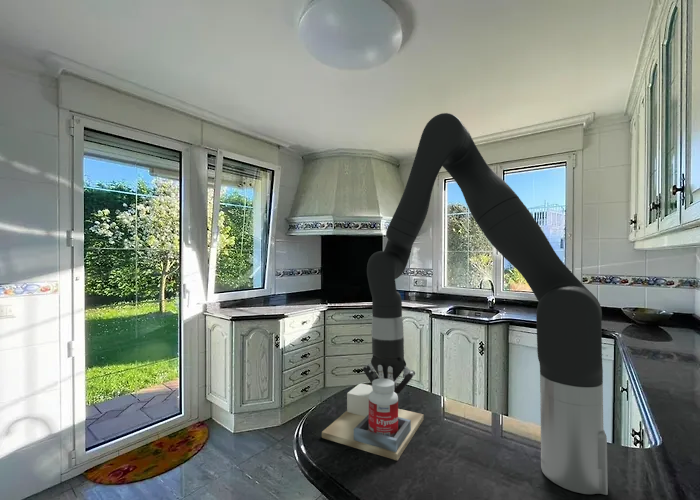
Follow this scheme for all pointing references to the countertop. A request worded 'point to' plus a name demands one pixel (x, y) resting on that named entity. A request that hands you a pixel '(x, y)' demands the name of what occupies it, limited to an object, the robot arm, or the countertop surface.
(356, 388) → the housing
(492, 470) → the countertop surface
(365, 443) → the base board
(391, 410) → the pill bottle
